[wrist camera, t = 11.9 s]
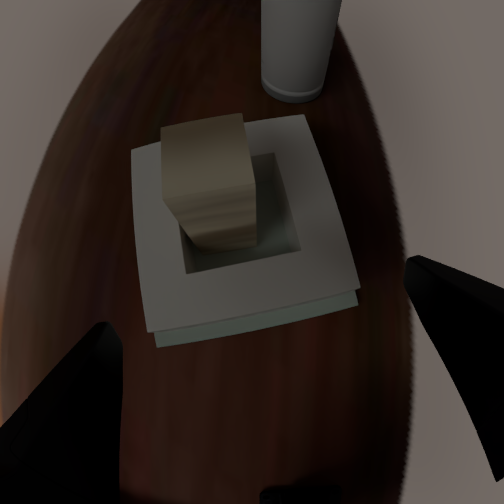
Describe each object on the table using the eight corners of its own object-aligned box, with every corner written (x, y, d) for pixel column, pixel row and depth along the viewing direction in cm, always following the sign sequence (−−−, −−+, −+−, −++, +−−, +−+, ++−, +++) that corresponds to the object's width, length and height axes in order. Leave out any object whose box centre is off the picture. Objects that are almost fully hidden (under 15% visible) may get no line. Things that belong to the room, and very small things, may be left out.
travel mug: (246, 79, 27) (237, -100, 8) (296, 59, 28) (312, -100, 9) (283, 114, 26) (300, -93, 6) (334, 92, 27) (377, -83, 7)
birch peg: (256, 246, 22) (255, 183, 12) (202, 255, 22) (162, 199, 12) (248, 197, 23) (241, 112, 13) (197, 206, 23) (160, 127, 13)
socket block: (355, 305, 21) (378, 299, 17) (159, 347, 21) (135, 350, 16) (304, 137, 25) (312, 103, 21) (139, 171, 25) (119, 143, 20)
